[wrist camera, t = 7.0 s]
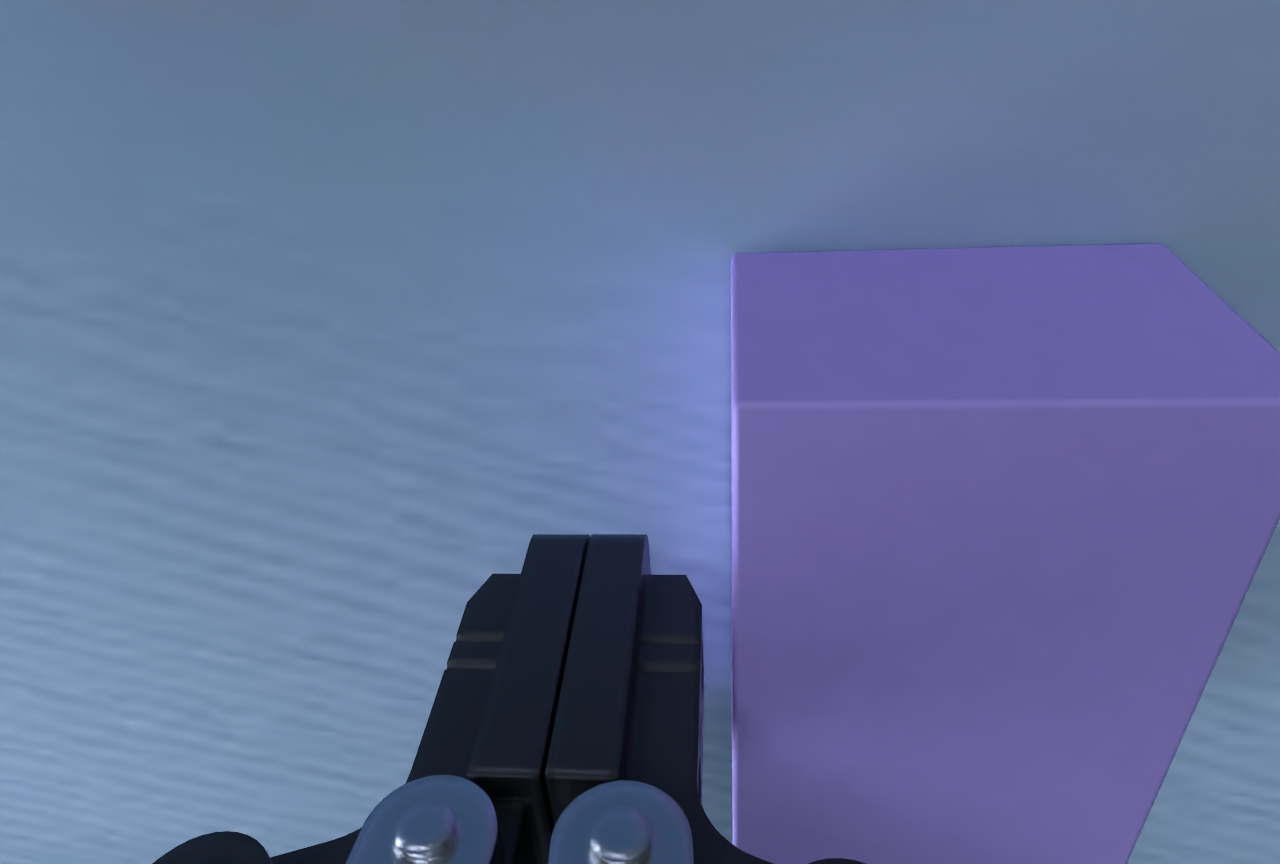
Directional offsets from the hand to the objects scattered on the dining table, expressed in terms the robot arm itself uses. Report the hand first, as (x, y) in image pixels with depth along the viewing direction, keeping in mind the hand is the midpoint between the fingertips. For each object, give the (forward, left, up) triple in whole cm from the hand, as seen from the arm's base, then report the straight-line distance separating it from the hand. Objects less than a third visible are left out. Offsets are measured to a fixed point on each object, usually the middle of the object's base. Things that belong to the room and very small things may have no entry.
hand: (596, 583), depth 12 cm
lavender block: (0, +4, -2) cm, 5 cm away
